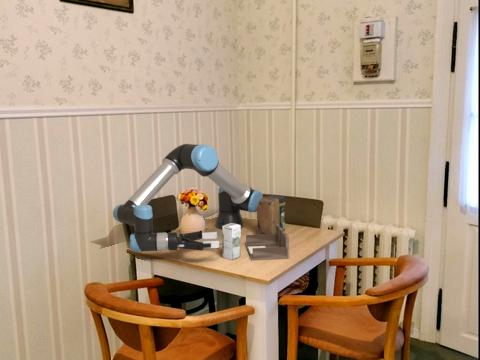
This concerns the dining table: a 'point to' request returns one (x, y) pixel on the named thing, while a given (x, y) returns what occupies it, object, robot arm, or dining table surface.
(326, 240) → the dining table surface
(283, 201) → the coffee jar
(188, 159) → the robot arm
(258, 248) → the bay
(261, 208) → the block
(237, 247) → the syrup box
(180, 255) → the dining table surface
